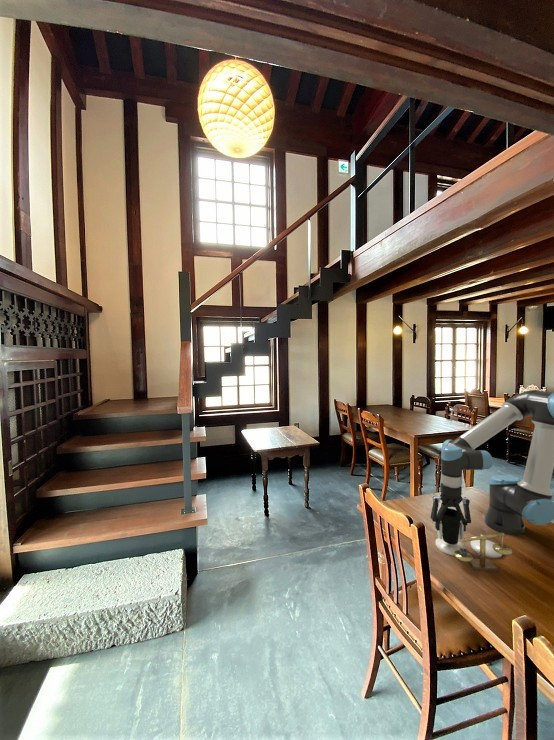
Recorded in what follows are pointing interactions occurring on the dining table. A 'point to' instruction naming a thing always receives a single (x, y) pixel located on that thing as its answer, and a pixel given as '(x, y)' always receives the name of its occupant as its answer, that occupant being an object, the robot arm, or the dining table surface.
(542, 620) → the dining table surface
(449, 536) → the cup
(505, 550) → the balance
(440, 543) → the low side dish
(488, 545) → the white round plate
